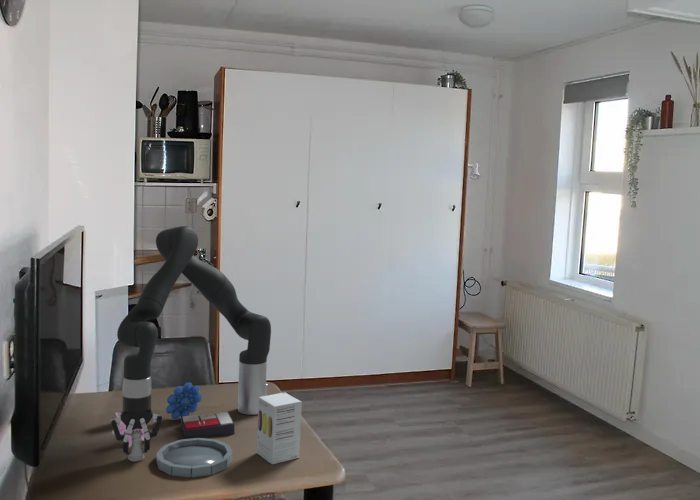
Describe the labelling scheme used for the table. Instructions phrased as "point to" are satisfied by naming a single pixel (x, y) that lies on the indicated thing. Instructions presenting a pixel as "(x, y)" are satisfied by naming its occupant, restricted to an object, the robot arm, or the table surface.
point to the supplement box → (279, 427)
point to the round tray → (194, 457)
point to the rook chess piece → (136, 447)
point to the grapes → (183, 401)
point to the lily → (122, 429)
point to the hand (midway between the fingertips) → (136, 452)
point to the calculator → (207, 425)
